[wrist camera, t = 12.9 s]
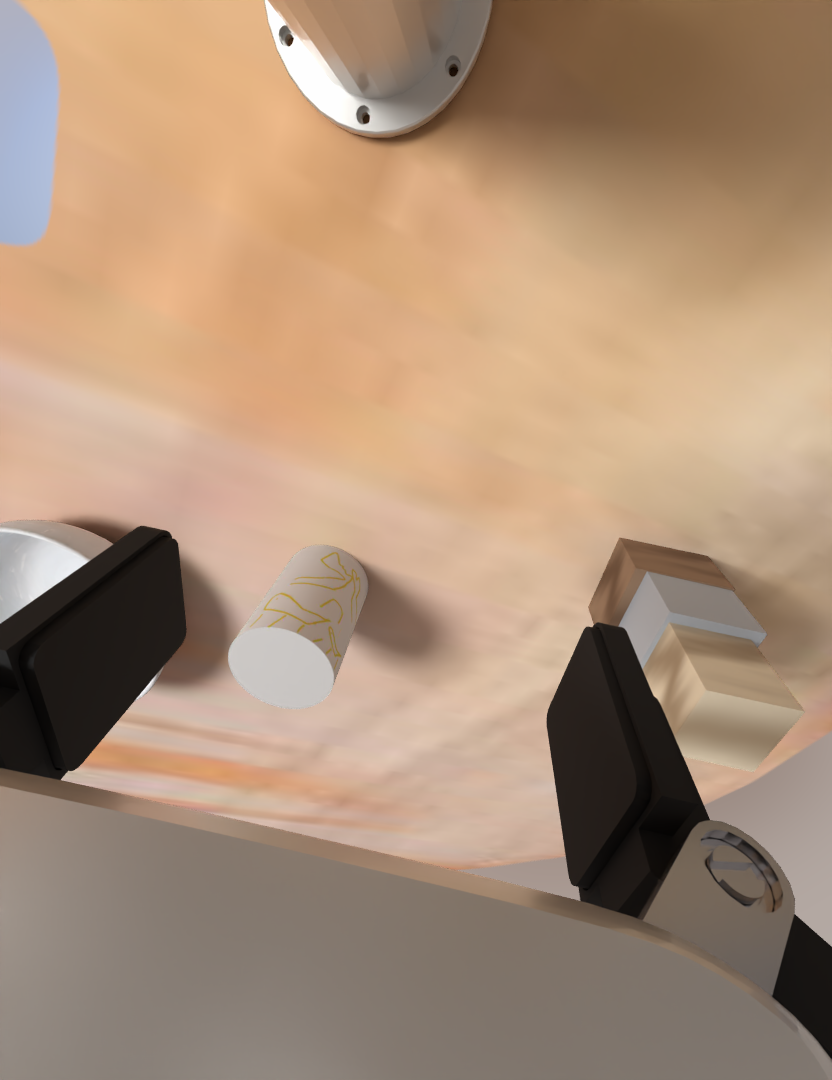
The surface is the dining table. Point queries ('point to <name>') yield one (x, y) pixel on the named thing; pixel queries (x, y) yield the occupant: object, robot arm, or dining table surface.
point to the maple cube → (720, 696)
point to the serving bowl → (42, 561)
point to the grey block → (684, 612)
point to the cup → (301, 629)
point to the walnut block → (631, 569)
